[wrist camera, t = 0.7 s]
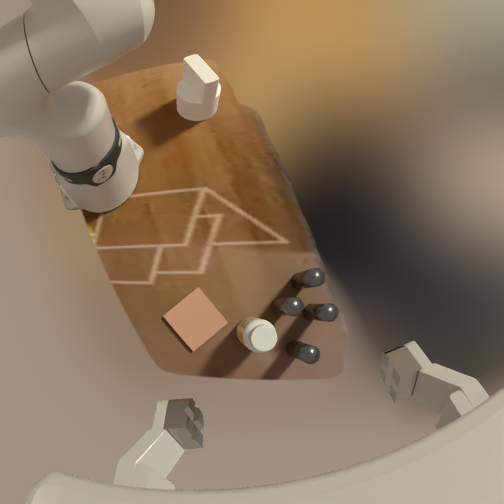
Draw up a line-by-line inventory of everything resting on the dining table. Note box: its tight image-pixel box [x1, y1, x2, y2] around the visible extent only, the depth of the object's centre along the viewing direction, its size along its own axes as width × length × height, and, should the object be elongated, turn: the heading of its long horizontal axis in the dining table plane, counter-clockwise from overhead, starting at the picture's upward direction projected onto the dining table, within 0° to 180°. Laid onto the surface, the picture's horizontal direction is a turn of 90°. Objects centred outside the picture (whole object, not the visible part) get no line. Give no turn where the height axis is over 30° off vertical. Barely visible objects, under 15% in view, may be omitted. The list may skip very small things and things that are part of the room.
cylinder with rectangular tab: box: [177, 54, 221, 121], centre depth 49 cm, size 9×9×12 cm
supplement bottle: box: [236, 317, 277, 353], centre depth 45 cm, size 5×5×10 cm
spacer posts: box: [271, 268, 338, 364], centre depth 48 cm, size 12×12×8 cm
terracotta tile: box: [163, 287, 228, 351], centre depth 47 cm, size 8×8×1 cm
